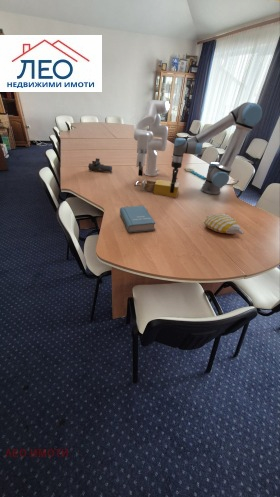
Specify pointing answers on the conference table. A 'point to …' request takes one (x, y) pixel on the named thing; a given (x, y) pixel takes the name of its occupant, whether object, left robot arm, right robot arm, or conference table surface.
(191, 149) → the right robot arm
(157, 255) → the conference table surface
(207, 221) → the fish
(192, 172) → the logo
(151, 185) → the drawer
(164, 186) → the cabinet
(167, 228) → the conference table surface
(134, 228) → the book
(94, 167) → the laser sight
